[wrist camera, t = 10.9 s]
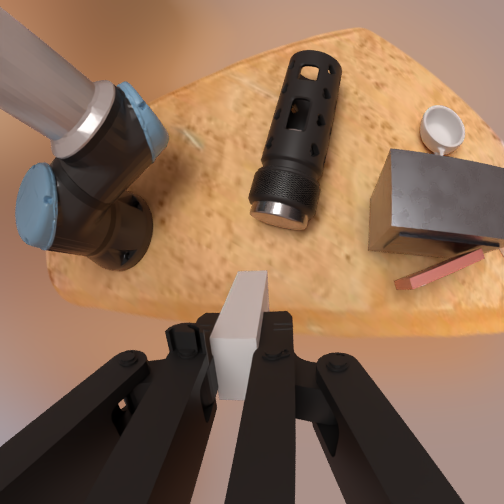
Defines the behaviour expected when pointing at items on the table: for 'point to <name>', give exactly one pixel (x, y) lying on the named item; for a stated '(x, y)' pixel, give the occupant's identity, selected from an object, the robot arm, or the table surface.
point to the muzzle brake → (297, 144)
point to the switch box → (436, 206)
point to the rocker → (439, 270)
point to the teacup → (441, 130)
